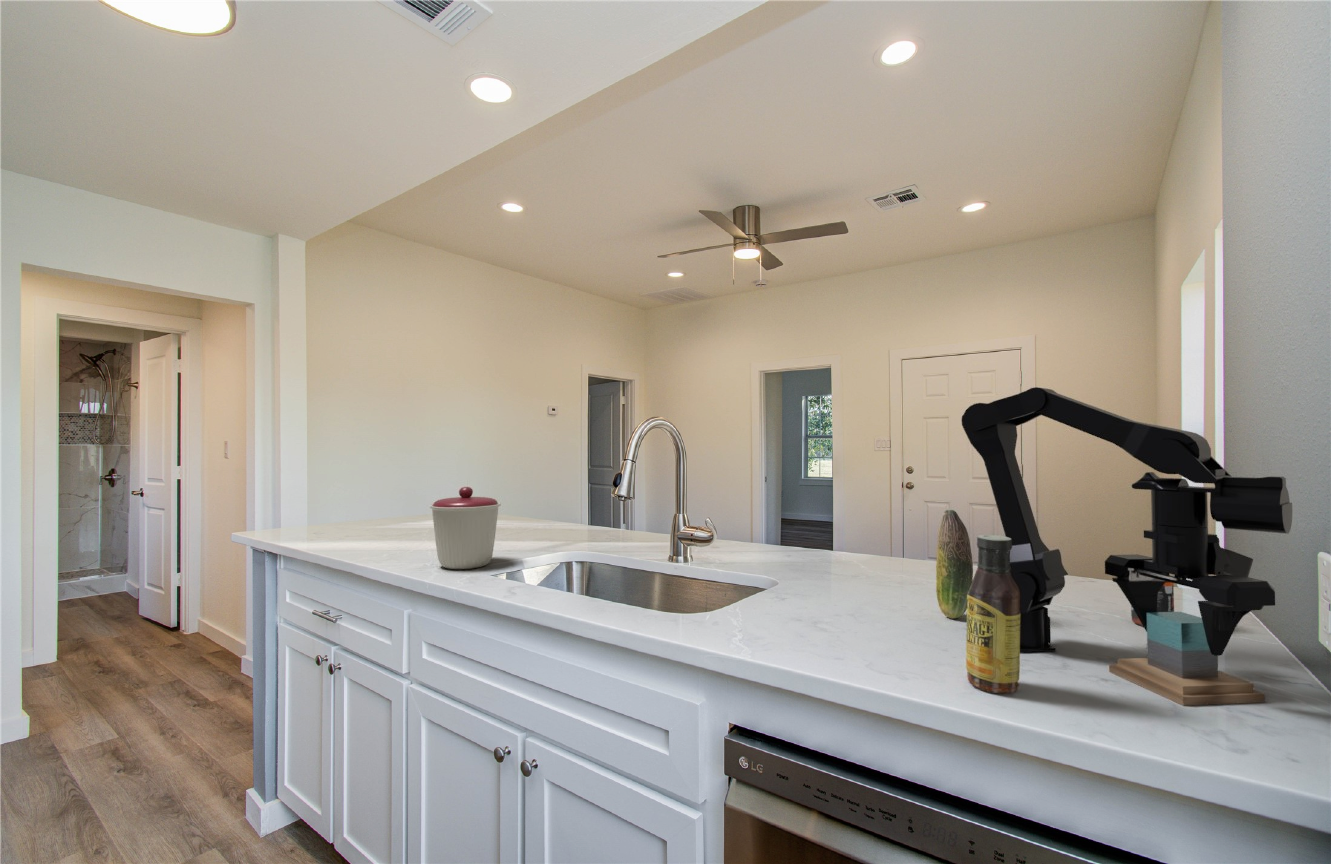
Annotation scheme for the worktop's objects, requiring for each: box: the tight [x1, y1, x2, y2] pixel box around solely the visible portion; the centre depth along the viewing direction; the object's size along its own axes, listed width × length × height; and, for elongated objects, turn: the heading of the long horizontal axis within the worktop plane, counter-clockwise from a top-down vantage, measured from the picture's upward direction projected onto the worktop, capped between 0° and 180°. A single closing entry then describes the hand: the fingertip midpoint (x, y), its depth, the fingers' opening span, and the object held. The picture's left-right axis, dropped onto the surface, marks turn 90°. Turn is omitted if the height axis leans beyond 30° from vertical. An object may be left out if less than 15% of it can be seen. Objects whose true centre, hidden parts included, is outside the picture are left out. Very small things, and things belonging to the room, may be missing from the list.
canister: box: [429, 486, 502, 570], centre depth 160 cm, size 18×18×21 cm
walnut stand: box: [1108, 657, 1266, 706], centre depth 79 cm, size 11×11×2 cm
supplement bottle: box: [1130, 581, 1175, 627], centre depth 106 cm, size 6×6×11 cm
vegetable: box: [935, 509, 974, 619], centre depth 111 cm, size 6×6×20 cm
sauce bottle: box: [965, 534, 1021, 694], centre depth 79 cm, size 7×6×20 cm
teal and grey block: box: [1146, 611, 1219, 679], centre depth 79 cm, size 5×5×7 cm
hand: (1181, 643), depth 79 cm, fingers open, 9 cm apart
